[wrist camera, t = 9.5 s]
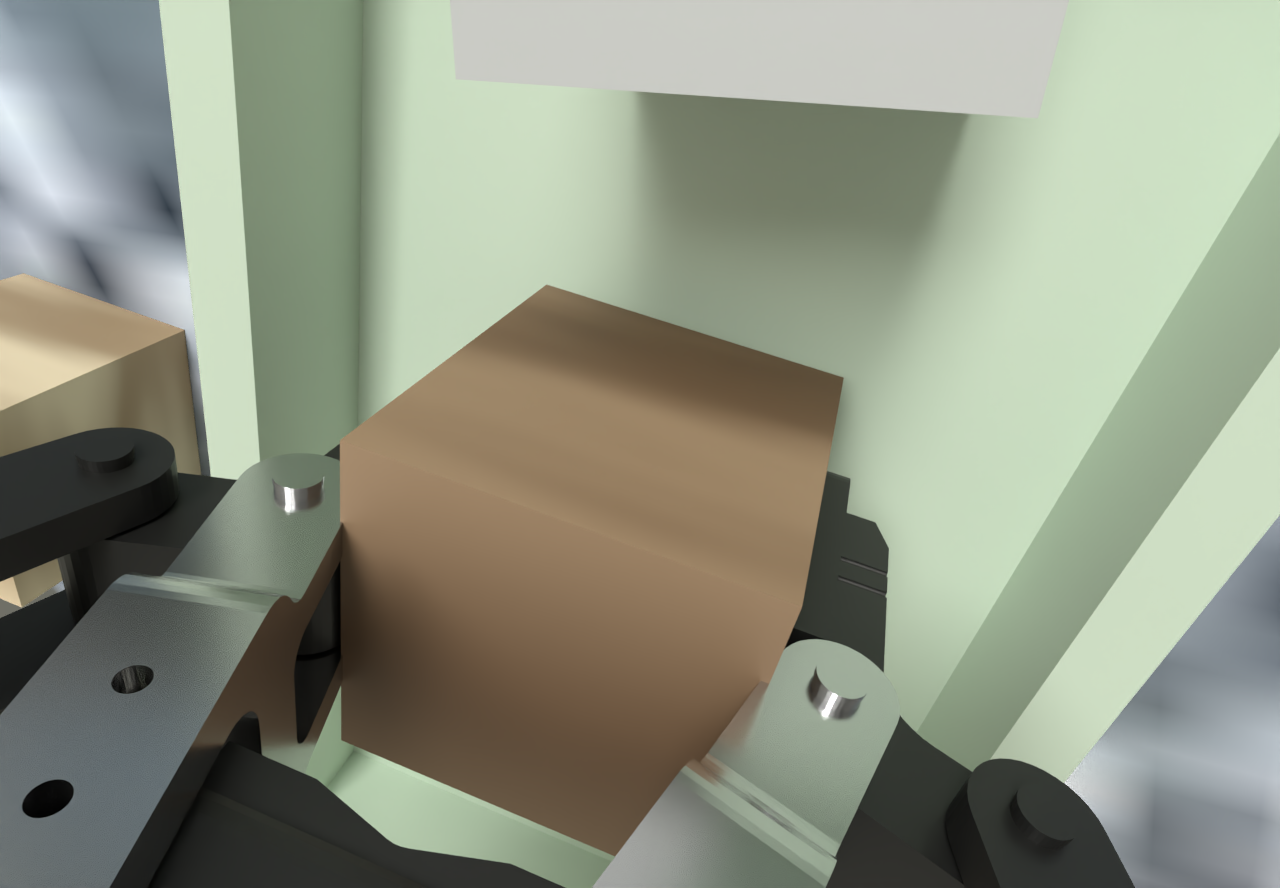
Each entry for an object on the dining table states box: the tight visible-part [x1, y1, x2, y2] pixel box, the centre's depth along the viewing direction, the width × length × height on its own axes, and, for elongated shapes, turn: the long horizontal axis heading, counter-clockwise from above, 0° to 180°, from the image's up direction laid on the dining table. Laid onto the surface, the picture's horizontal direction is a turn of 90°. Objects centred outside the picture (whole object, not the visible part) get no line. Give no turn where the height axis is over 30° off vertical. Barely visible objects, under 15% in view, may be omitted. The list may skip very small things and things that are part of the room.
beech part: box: [0, 274, 201, 607], centre depth 17 cm, size 4×4×5 cm
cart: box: [159, 0, 1280, 888], centre depth 13 cm, size 27×16×4 cm, turn 168°
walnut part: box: [340, 285, 844, 856], centre depth 10 cm, size 4×4×5 cm
